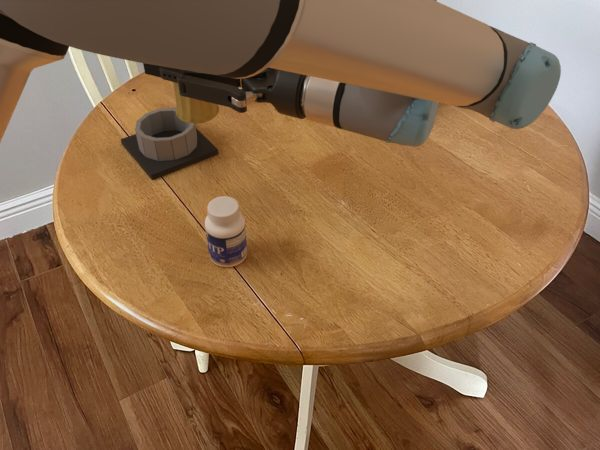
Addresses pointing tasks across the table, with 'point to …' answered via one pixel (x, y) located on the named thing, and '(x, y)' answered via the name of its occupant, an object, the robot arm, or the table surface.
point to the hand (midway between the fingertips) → (158, 53)
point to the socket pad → (169, 165)
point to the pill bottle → (225, 232)
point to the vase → (194, 108)
